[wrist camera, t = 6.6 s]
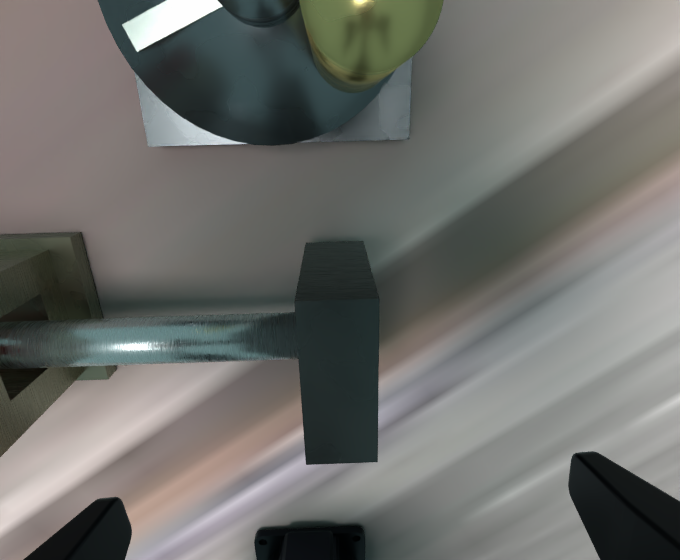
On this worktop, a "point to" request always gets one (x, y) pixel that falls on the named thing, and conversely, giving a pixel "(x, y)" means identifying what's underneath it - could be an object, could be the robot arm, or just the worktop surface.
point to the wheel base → (370, 124)
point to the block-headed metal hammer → (252, 347)
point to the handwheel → (268, 59)
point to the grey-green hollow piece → (42, 319)
